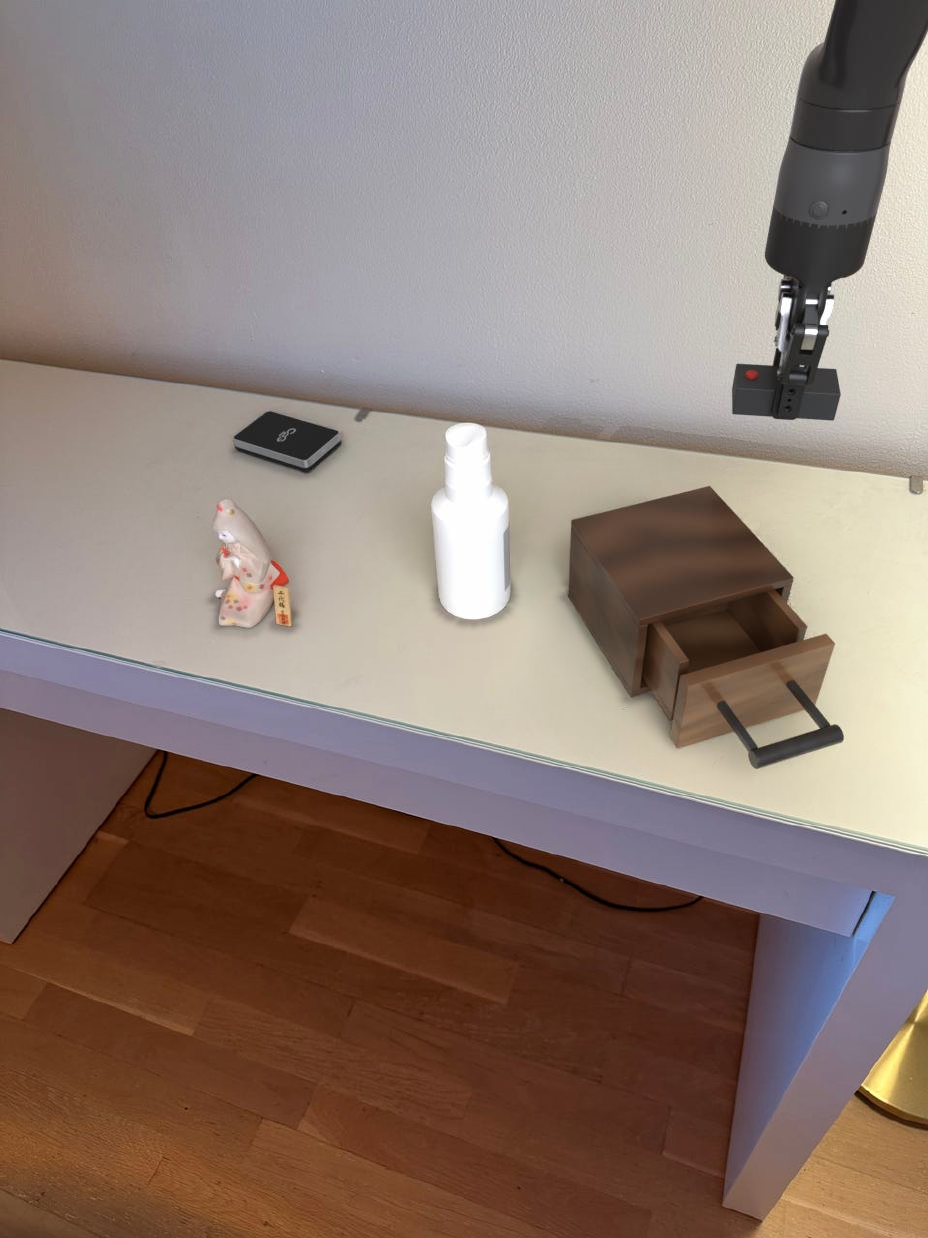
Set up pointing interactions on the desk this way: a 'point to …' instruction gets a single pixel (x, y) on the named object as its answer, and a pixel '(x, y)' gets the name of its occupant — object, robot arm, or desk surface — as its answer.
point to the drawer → (739, 674)
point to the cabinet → (662, 570)
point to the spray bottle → (471, 529)
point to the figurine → (248, 571)
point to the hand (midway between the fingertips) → (782, 401)
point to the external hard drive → (287, 441)
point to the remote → (759, 387)
